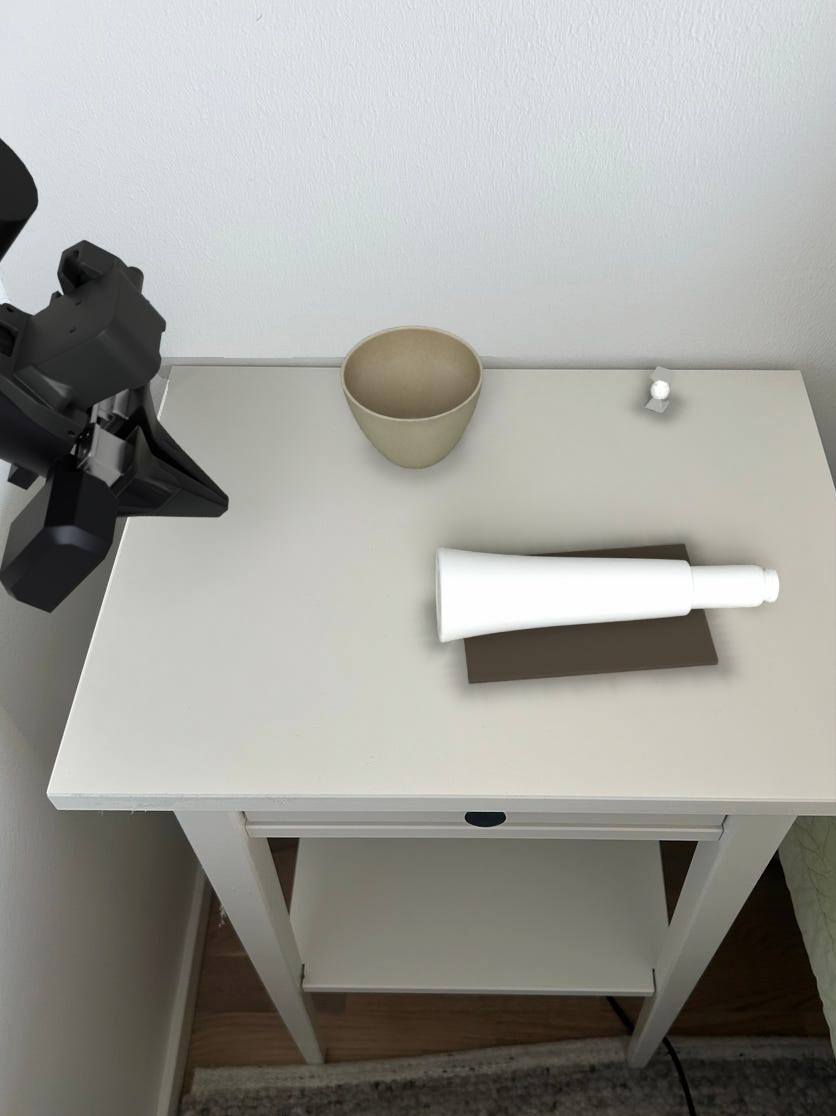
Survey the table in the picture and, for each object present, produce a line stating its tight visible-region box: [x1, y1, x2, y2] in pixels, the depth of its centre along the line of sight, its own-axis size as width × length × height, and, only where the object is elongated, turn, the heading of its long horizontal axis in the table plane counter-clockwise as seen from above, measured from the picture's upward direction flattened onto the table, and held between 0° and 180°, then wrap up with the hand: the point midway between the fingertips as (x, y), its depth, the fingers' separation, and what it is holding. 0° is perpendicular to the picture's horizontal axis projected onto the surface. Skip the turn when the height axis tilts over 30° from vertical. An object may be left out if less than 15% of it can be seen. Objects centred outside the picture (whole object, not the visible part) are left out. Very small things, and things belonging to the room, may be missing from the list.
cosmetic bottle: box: [434, 546, 780, 643], centre depth 65 cm, size 6×6×22 cm
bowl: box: [339, 325, 484, 470], centre depth 73 cm, size 10×10×7 cm
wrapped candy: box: [644, 365, 677, 414], centre depth 77 cm, size 2×2×3 cm
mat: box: [463, 543, 719, 685], centre depth 67 cm, size 16×10×1 cm, turn 96°
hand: (224, 508), depth 56 cm, fingers closed
